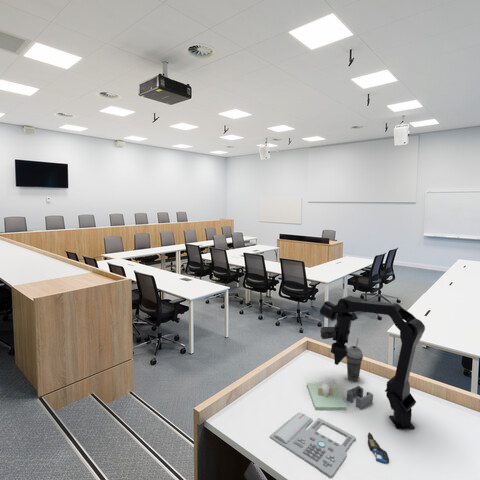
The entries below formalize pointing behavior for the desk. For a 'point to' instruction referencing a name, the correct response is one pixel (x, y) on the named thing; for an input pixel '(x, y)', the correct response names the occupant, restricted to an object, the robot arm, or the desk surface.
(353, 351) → the beverage cup
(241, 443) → the desk surface
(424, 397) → the desk surface
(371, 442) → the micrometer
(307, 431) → the office telephone
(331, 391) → the keyed post stand
